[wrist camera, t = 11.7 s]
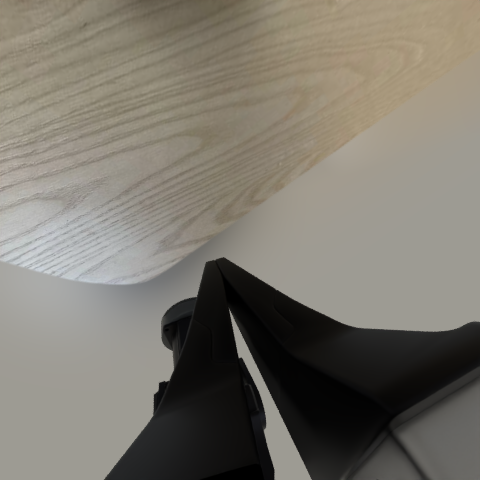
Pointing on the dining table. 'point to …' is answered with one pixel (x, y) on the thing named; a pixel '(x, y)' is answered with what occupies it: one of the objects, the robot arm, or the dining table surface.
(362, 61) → the dining table surface
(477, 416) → the robot arm
